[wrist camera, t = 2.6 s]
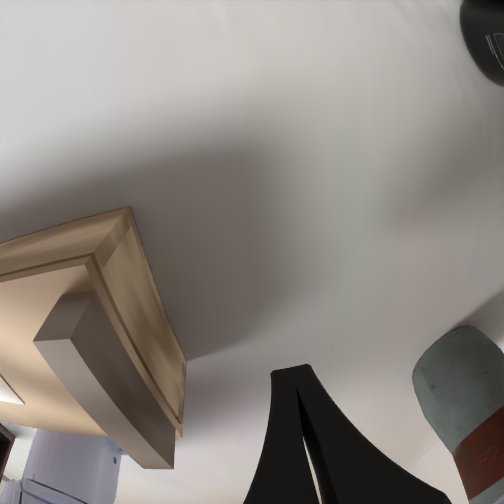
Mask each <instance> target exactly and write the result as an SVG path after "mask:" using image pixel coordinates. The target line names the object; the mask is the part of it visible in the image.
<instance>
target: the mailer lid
mask: <svg viewBox="0 0 504 504" xmlns="http://www.w3.org/2000/svg"><path fill="white" fill-rule="evenodd" d="M0 420H1V421H5V422H9V423H14V424H18V425H23V426H28V427H33V428H39V429H44V430H51V431H57V432H65V433H73V434H82V435H93V436H107V437H110V438H111V439H112V440H113V441H114V442H115V443H116V444H117V445H118V446H119V447H120V448H121V449H122V450H123V451H125V452H126V453H127V454H128V455H129V456H130V457H131V458H132V459H133V460H134V461H136V462H137V463H138V464H139V465H140V466H141V467H142V468H144V469H174V451H175V437H182V427H181V426H180V424H179V423H178V421H177V420H176V418H175V417H174V415H173V414H172V412H171V411H170V409H169V408H168V406H167V404H166V403H165V401H164V400H163V398H162V397H161V395H160V393H159V392H158V390H157V388H156V387H155V385H154V383H153V382H152V380H151V378H150V377H149V375H148V373H147V372H146V370H145V368H144V366H143V365H142V363H141V361H140V359H139V357H138V356H137V354H136V352H135V350H134V348H133V346H132V344H131V342H130V341H129V339H128V337H127V335H126V333H125V331H124V329H123V327H122V325H121V323H120V321H119V319H118V317H117V315H116V313H115V311H114V308H113V306H112V304H111V302H110V300H109V298H108V295H107V293H106V291H105V289H104V286H103V284H102V282H101V279H100V277H99V275H98V272H97V270H96V268H95V265H94V263H93V260H92V258H91V256H89V257H84V258H79V259H75V260H70V261H66V262H61V263H57V264H52V265H48V266H44V267H39V268H35V269H31V270H27V271H22V272H18V273H14V274H10V275H6V276H1V277H0Z"/></svg>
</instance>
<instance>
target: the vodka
mask: <svg viewBox="0 0 504 504" xmlns="http://www.w3.org/2000/svg"><path fill="white" fill-rule="evenodd" d="M412 380H413V385H414V390H415V393H416V396H417V398H418V401H419V404H420V406H421V409H422V412H423V414H424V416H425V418H426V419H427V421H428V422H429V424H430V425H431V427H432V428H433V429H434V431H435V432H436V434H437V435H438V437H439V438H440V439H441V440H442V442H443V443H444V445H445V446H446V447H447V449H448V450H449V451H450V453H451V454H452V455H453V458H454V461H455V463H456V466H457V469H458V471H459V474H460V477H461V480H462V483H463V485H464V489H465V491H466V494H467V497H468V501H469V504H491V503H493V502H494V501H496V500H497V499H498V498H500V497H501V496H502V495H504V354H503V352H502V351H501V349H500V348H499V347H498V346H497V345H496V344H495V343H494V342H492V341H491V340H490V339H489V338H488V337H487V336H486V335H485V334H483V333H482V332H480V331H478V330H477V329H475V328H473V327H469V326H464V327H460V328H457V329H455V330H453V331H451V332H449V333H447V334H446V335H444V336H443V337H442V338H440V339H439V340H437V341H436V342H435V343H434V344H433V345H432V346H431V347H430V348H429V349H428V350H427V351H426V352H425V353H424V354H423V356H422V357H421V358H420V360H419V361H418V362H417V364H416V366H415V368H414V370H413V376H412Z"/></svg>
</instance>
